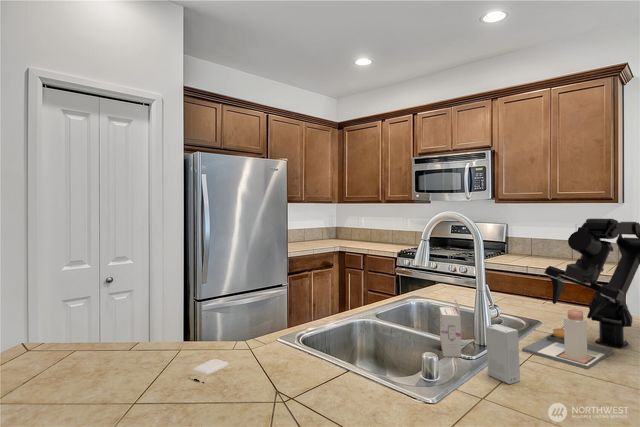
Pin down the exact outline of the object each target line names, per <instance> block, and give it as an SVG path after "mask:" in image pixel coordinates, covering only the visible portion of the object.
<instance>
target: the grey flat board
mask: <svg viewBox="0 0 640 427" xmlns="http://www.w3.org/2000/svg"><path fill="white" fill-rule="evenodd" d="M521 351H522V352H524V353H529V354H532V355H534V356H535V355H536V356H539V357H543V358H546V359H549V360H553V361H557V362H560V363H562V364H563V363H564V364H568V365H571V366H575V367H579V368H582V369H585V370H588V369H590V368H592V367H593V366H595V365H596V364H597V363H599V362H601V361H602V360H603V359H605V358H607V357H608V356H609V355H610V354H611V355H612V354H613V349H612V348H607V347H603V346H600V345H596V344H591V343H587V358H585V359H581V360H576V359H573V358H570V357H567V356H565V346H564V338H558V337H555V336H554V335H553V333H551V334H549V335H546V336H545V337H543V338H541V339H538V340H536V341H534V342H532V343H530V344H528V345H526V346H523V347H522V348H521Z"/></svg>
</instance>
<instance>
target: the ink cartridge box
mask: <svg viewBox="0 0 640 427" xmlns="http://www.w3.org/2000/svg"><path fill="white" fill-rule="evenodd" d="M454 303H455V304H454V305H455V307H450V306H448V307H447V306H446V307H444V306H443V307H442V306H441V307H440V306H439V329H440V330H439V333H440V334H439V337H440V340H439V342H440V344H439V345H440V348H441V351H442V355H443V357H447V358H450V357H452V358H453V357H454V358H461V357H462V331H461V328H462V327H461V323H462V322H461V311H460V309H461V308H460V303H459V302H458V300H457V298H456V297H454Z"/></svg>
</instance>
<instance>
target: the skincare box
mask: <svg viewBox="0 0 640 427" xmlns="http://www.w3.org/2000/svg"><path fill="white" fill-rule="evenodd" d="M485 337H486V338H485V341H486V356H487V357H486V358H487V375H488V376H490V377H492V378H493V379H496V380H498V381H502V382H503V383H506V384H507V385H511V384H515V383H519V382H520V381H521V370H520V369H521V368H520V367H521V366H520V348H519V330H517V329H515V328H512V327H508V326H505V325H502V324H501V325H500V324H499V323H496V324H491V325H486V326H485Z"/></svg>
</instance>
